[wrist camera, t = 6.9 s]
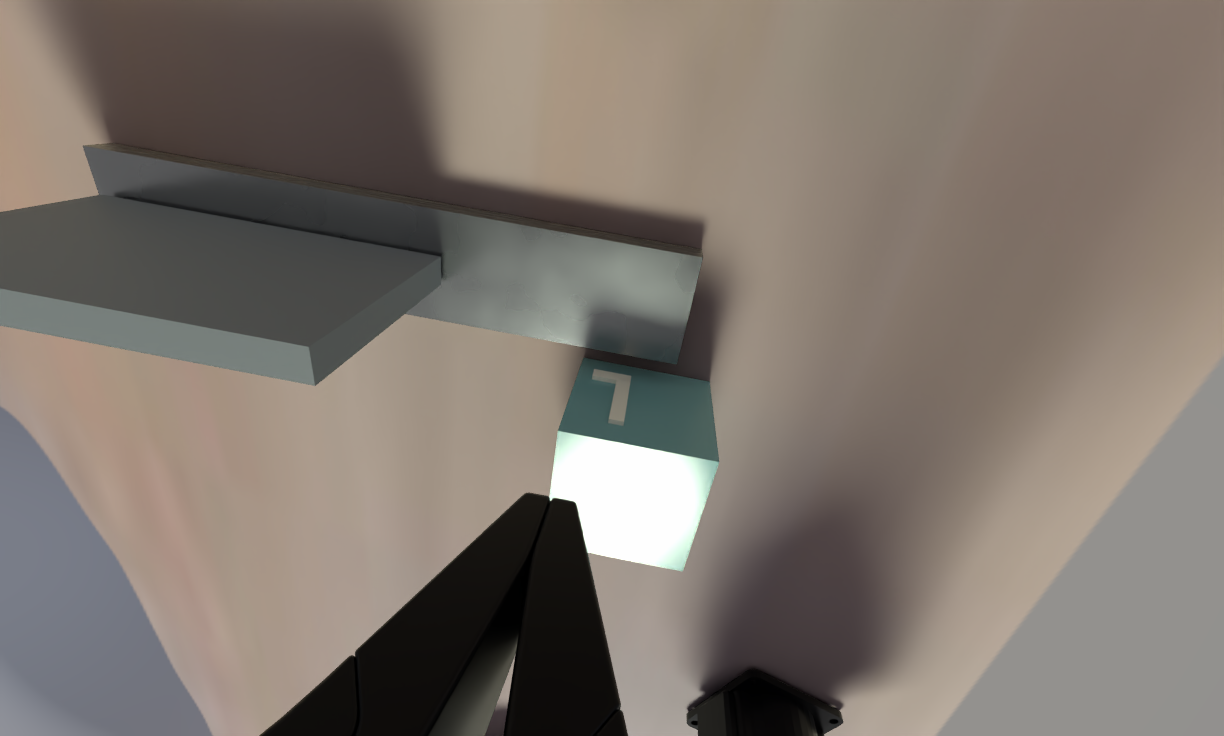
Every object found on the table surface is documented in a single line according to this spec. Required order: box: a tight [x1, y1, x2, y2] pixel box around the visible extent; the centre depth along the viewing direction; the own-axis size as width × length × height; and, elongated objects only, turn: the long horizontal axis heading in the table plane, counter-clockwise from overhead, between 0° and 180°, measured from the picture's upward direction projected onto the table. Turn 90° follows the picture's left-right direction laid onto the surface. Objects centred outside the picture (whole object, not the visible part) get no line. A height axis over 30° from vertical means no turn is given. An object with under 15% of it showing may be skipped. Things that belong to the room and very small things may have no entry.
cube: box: [549, 358, 719, 571], centre depth 19 cm, size 5×5×5 cm
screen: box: [0, 195, 441, 386], centre depth 14 cm, size 12×1×7 cm, turn 82°
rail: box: [83, 143, 703, 365], centre depth 18 cm, size 21×4×1 cm, turn 82°
